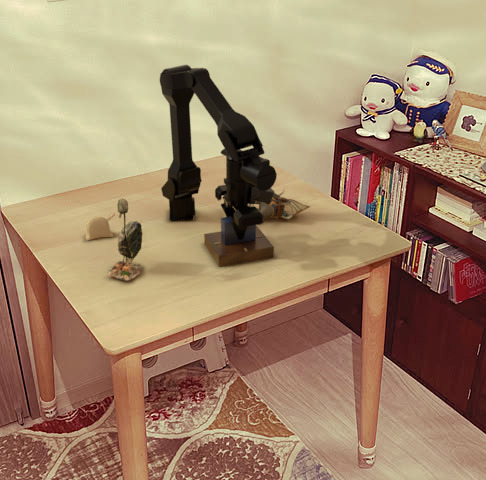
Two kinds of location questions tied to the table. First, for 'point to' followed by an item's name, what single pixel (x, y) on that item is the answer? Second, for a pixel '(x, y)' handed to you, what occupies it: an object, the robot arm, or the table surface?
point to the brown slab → (238, 249)
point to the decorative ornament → (98, 227)
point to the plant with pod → (127, 246)
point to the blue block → (230, 235)
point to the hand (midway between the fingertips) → (238, 236)
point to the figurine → (280, 207)
